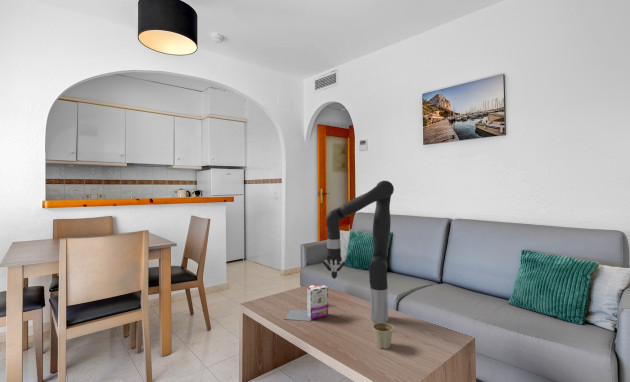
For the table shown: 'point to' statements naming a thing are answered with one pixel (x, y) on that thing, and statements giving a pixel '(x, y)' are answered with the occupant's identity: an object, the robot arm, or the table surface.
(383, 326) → the flower pot
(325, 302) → the candy bar box
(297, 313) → the mat
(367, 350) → the table surface
